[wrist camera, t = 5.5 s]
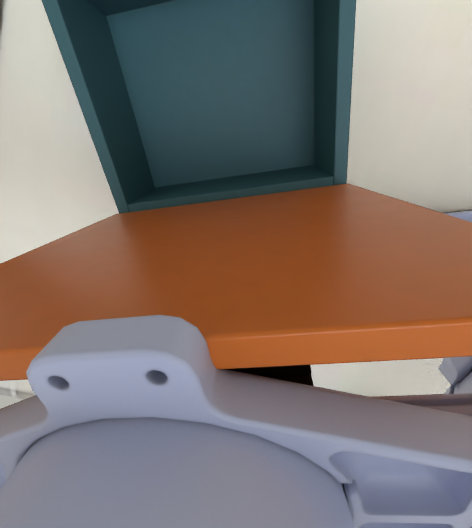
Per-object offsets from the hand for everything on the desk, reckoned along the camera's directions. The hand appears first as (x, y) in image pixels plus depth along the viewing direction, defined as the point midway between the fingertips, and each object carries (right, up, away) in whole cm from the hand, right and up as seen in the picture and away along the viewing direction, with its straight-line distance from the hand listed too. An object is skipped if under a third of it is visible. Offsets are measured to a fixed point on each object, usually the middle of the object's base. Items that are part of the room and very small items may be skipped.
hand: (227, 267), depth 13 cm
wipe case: (-1, +11, +5) cm, 12 cm away
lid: (-1, +1, -4) cm, 4 cm away
